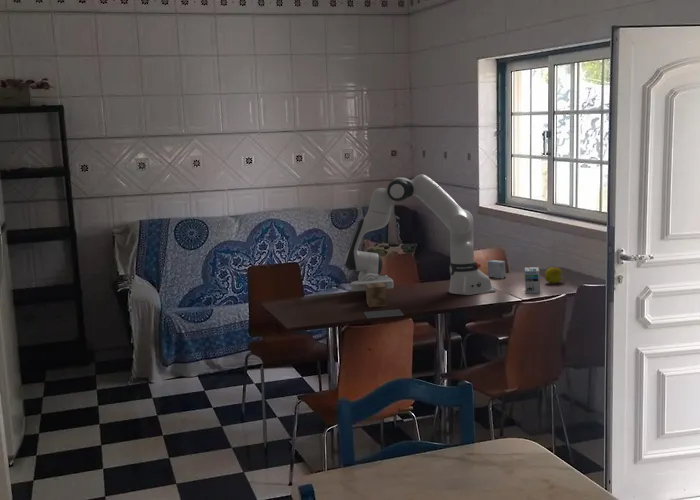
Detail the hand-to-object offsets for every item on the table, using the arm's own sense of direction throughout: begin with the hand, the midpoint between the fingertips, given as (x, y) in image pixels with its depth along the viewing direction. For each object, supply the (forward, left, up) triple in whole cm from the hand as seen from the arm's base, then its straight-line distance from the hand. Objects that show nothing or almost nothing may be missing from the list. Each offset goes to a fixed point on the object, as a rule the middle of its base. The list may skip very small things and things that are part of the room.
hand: (374, 288), depth 363 cm
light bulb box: (-74, +6, -7) cm, 74 cm away
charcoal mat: (0, +26, -6) cm, 27 cm away
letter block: (0, +6, -7) cm, 9 cm away
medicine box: (-69, -33, -7) cm, 77 cm away
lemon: (-90, -8, -7) cm, 91 cm away
